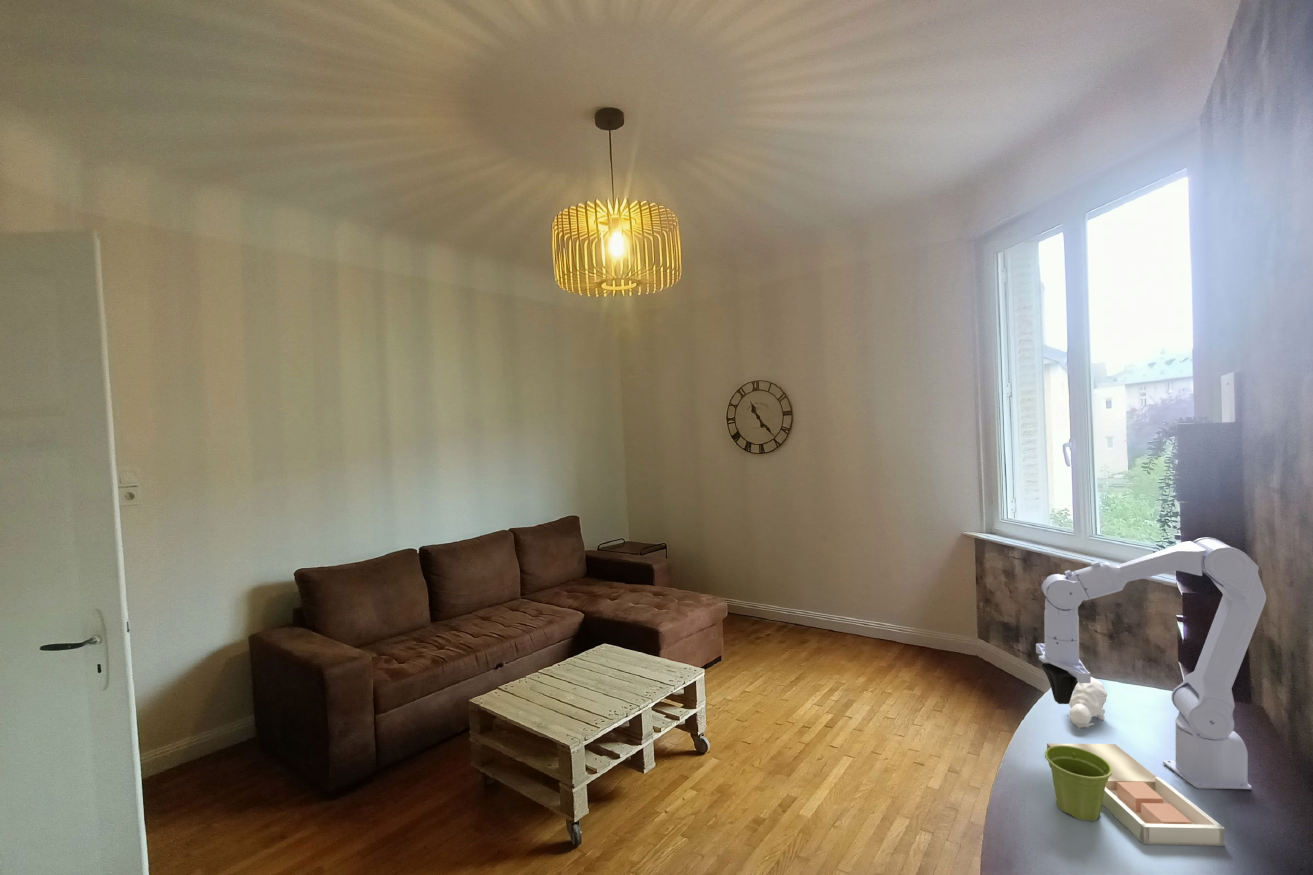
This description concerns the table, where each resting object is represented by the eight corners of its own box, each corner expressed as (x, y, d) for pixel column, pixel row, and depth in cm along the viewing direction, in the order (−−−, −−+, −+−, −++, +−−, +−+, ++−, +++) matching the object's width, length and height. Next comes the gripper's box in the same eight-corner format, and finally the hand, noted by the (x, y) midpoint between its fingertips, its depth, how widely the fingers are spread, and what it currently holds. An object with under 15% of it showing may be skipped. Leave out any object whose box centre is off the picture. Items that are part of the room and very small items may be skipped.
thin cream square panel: (1115, 753, 117) (1115, 743, 117) (1162, 792, 105) (1162, 781, 105) (1047, 752, 118) (1046, 743, 118) (1086, 791, 106) (1086, 780, 106)
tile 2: (1169, 817, 98) (1169, 803, 98) (1191, 837, 93) (1191, 821, 93) (1140, 817, 98) (1140, 802, 98) (1161, 836, 94) (1161, 821, 94)
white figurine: (1108, 677, 130) (1095, 701, 123) (1109, 713, 131) (1096, 739, 123) (1074, 669, 135) (1059, 691, 127) (1075, 704, 136) (1060, 728, 128)
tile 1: (1143, 795, 104) (1143, 781, 104) (1163, 812, 99) (1163, 798, 99) (1116, 795, 104) (1116, 781, 104) (1135, 812, 99) (1135, 798, 99)
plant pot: (1125, 831, 96) (1124, 779, 95) (1060, 825, 97) (1060, 774, 97) (1094, 794, 105) (1094, 747, 104) (1036, 789, 107) (1035, 743, 106)
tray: (1159, 792, 105) (1159, 777, 105) (1224, 845, 92) (1224, 828, 92) (1089, 791, 106) (1089, 776, 106) (1143, 843, 93) (1143, 826, 93)
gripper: (1020, 623, 125) (1021, 685, 126) (1063, 650, 111) (1063, 720, 111) (1055, 622, 125) (1055, 685, 125) (1102, 650, 110) (1102, 721, 111)
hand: (1061, 702), depth 118 cm, fingers closed
